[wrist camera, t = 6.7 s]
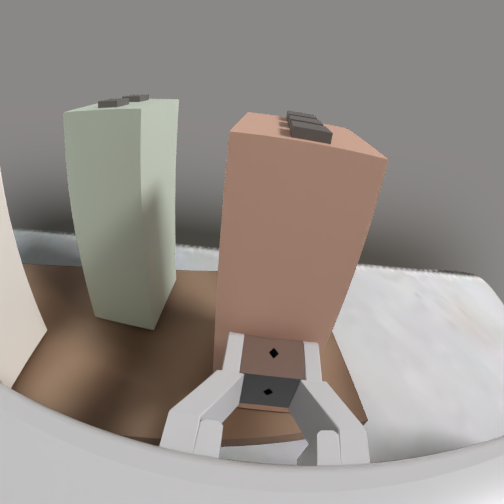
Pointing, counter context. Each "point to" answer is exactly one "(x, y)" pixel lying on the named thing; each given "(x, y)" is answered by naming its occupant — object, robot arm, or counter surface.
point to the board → (144, 362)
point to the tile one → (15, 305)
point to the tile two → (124, 203)
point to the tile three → (291, 228)
